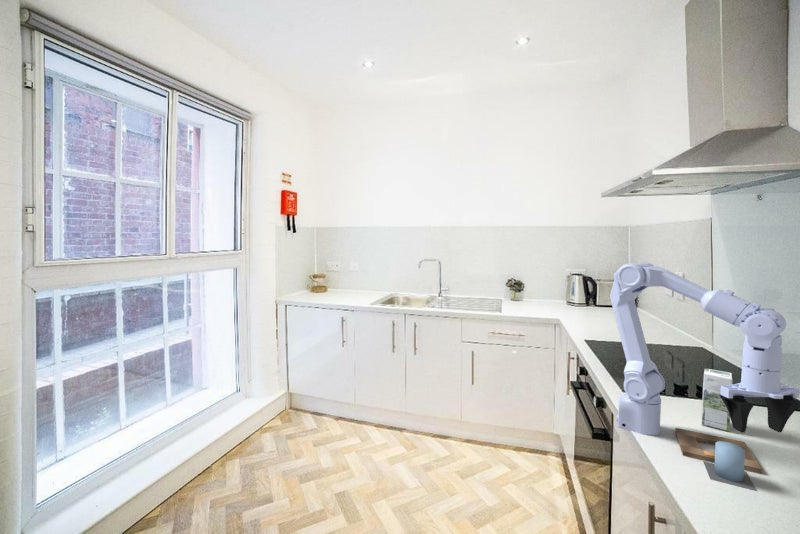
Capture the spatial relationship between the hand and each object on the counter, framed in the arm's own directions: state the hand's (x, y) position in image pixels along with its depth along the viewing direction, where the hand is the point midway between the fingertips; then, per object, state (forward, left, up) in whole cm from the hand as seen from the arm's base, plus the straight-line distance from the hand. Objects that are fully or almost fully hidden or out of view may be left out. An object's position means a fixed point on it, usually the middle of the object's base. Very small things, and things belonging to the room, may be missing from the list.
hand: (756, 430), depth 75 cm
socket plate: (-6, +5, -10) cm, 12 cm away
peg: (-5, -5, -9) cm, 11 cm away
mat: (-5, -5, -10) cm, 12 cm away
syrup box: (-2, +23, -10) cm, 25 cm away
